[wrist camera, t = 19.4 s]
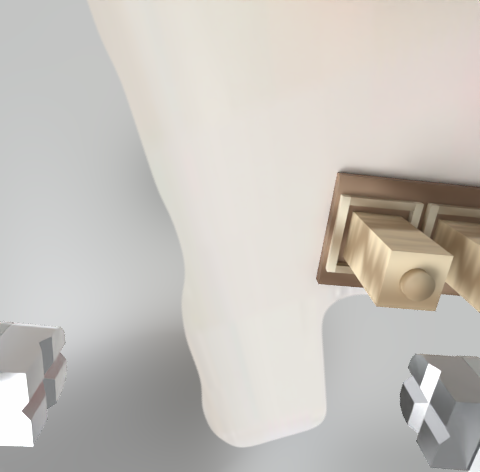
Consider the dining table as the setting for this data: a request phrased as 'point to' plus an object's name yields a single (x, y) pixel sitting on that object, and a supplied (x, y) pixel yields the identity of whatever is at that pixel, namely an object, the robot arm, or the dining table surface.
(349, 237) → the maple pillar
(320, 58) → the dining table surface
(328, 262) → the baseplate
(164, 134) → the dining table surface
